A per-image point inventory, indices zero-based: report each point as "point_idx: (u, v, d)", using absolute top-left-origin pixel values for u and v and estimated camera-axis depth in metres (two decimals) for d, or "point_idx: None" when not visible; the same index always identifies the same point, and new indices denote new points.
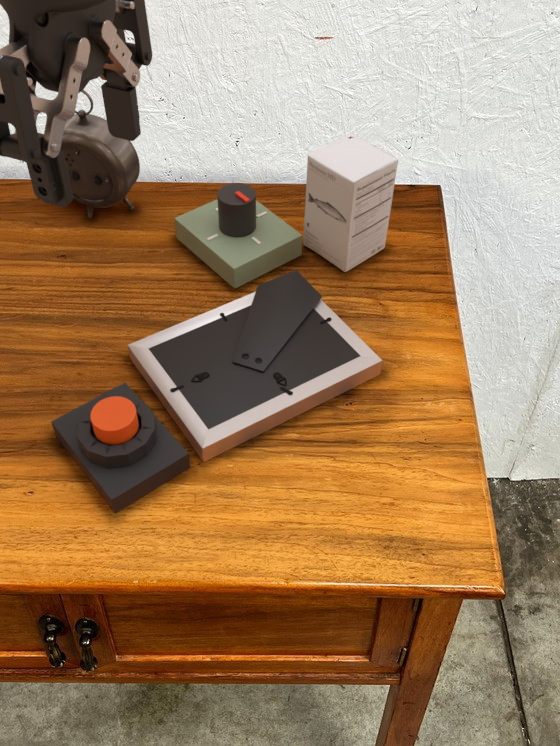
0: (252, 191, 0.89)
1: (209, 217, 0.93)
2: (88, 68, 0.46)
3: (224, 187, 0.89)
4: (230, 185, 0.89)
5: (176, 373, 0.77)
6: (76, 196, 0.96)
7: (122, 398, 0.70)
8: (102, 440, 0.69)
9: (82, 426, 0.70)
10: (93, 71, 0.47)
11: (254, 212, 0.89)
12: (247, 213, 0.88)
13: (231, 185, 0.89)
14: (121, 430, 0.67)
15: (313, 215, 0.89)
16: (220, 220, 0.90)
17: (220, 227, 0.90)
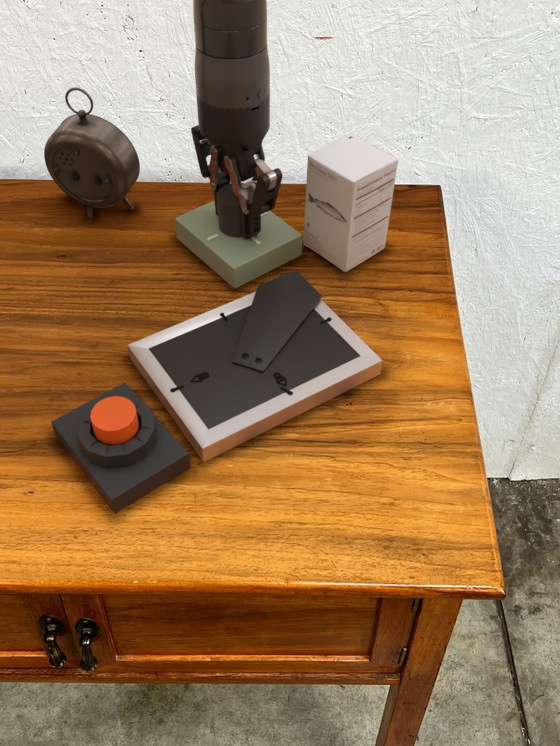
0: (252, 191, 0.89)
1: (209, 217, 0.93)
2: None
3: (224, 187, 0.89)
4: (230, 185, 0.89)
5: (176, 373, 0.77)
6: (76, 196, 0.96)
7: (122, 398, 0.70)
8: (102, 440, 0.69)
9: (82, 426, 0.70)
10: None
11: None
12: None
13: (231, 185, 0.89)
14: (121, 430, 0.67)
15: (313, 215, 0.89)
16: (220, 220, 0.90)
17: (220, 227, 0.90)
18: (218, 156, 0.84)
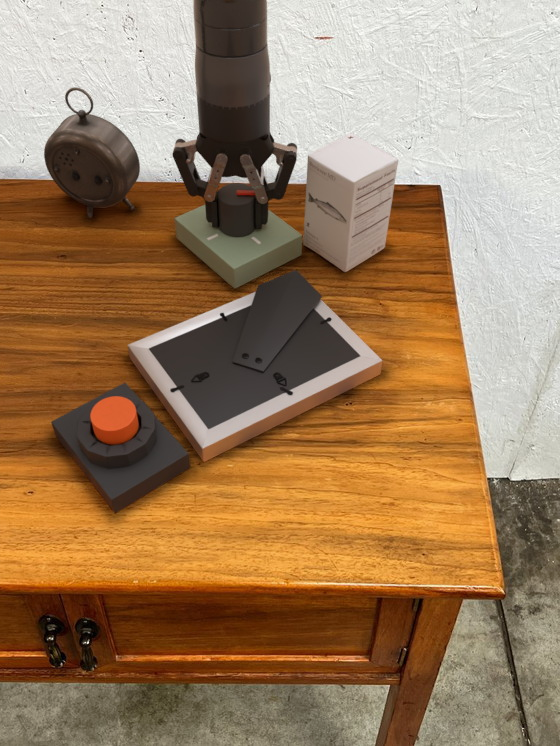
0: (244, 185, 0.89)
1: None
2: None
3: (220, 195, 0.88)
4: (221, 191, 0.88)
5: (176, 373, 0.77)
6: (76, 196, 0.96)
7: (122, 398, 0.70)
8: (102, 440, 0.69)
9: (82, 426, 0.70)
10: None
11: None
12: None
13: (222, 190, 0.89)
14: (121, 430, 0.67)
15: (313, 215, 0.89)
16: (232, 226, 0.89)
17: (232, 233, 0.90)
18: (226, 161, 0.83)
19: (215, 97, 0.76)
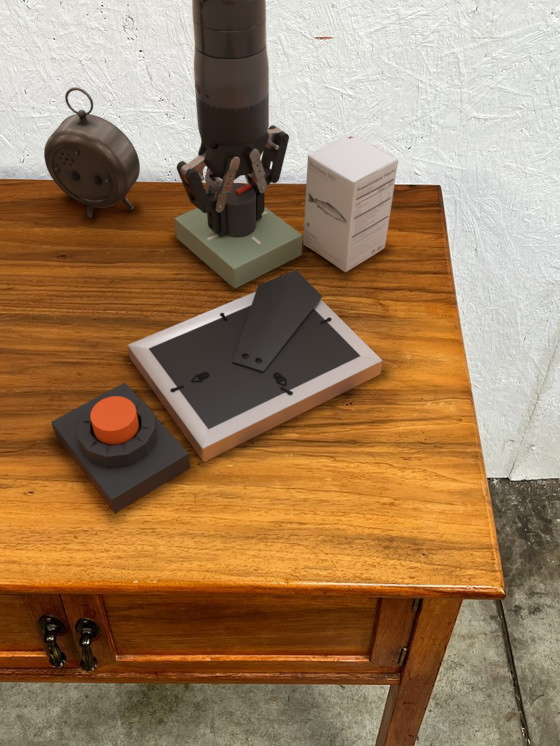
0: None
1: None
2: None
3: (226, 201, 0.87)
4: None
5: (176, 373, 0.77)
6: (76, 196, 0.96)
7: (122, 398, 0.70)
8: (102, 440, 0.69)
9: (82, 426, 0.70)
10: None
11: None
12: None
13: None
14: (121, 430, 0.67)
15: (313, 215, 0.89)
16: (247, 224, 0.89)
17: (246, 232, 0.90)
18: None
19: (240, 100, 0.76)
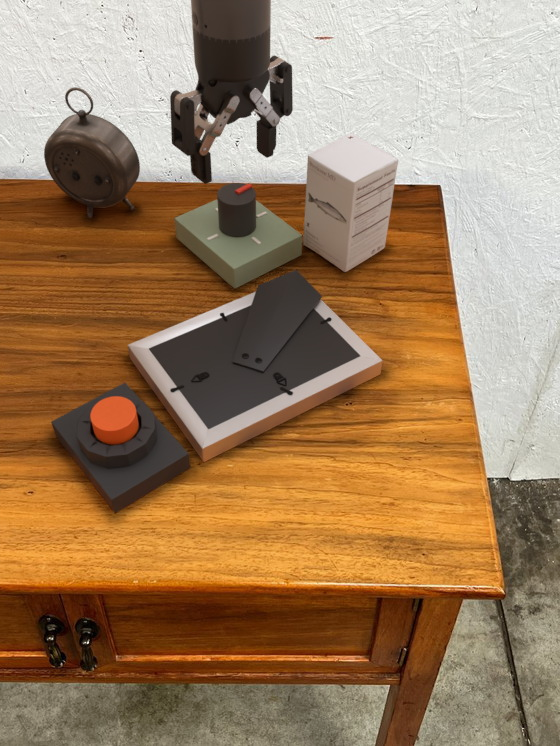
0: (231, 184, 0.89)
1: (209, 217, 0.93)
2: None
3: (226, 201, 0.87)
4: (222, 198, 0.88)
5: (176, 373, 0.77)
6: (76, 196, 0.96)
7: (122, 398, 0.70)
8: (102, 440, 0.69)
9: (82, 426, 0.70)
10: None
11: None
12: None
13: (222, 197, 0.88)
14: (121, 430, 0.67)
15: (313, 215, 0.89)
16: (247, 224, 0.89)
17: (246, 232, 0.90)
18: None
19: (241, 30, 0.71)
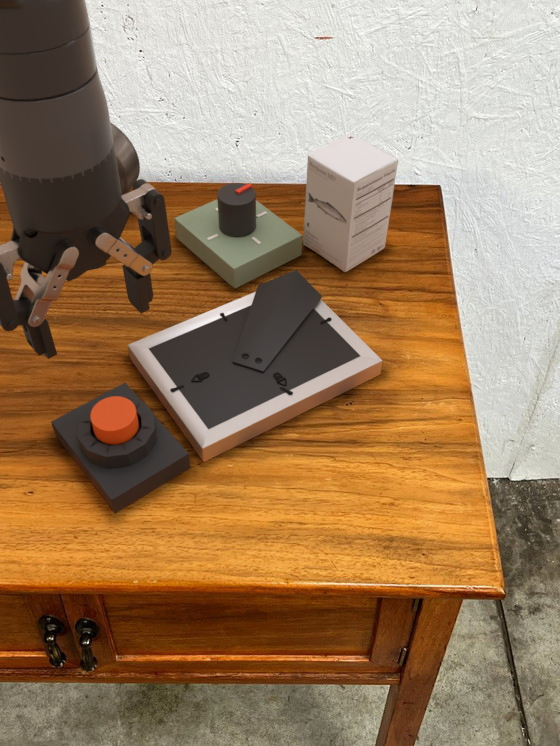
0: (231, 184, 0.89)
1: (209, 217, 0.93)
2: None
3: (226, 201, 0.87)
4: (222, 198, 0.88)
5: (176, 373, 0.77)
6: None
7: (122, 398, 0.70)
8: (102, 440, 0.69)
9: (82, 426, 0.70)
10: None
11: None
12: None
13: (222, 197, 0.88)
14: (121, 430, 0.67)
15: (313, 215, 0.89)
16: (247, 224, 0.89)
17: (246, 232, 0.90)
18: None
19: (56, 165, 0.46)
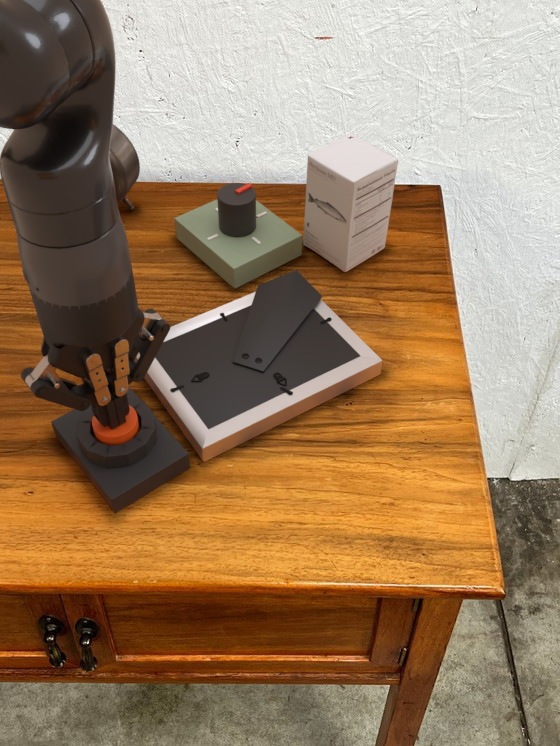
0: (231, 184, 0.89)
1: (209, 217, 0.93)
2: None
3: (226, 201, 0.87)
4: (222, 198, 0.88)
5: (176, 373, 0.77)
6: None
7: None
8: None
9: (82, 426, 0.70)
10: None
11: None
12: None
13: (222, 197, 0.88)
14: (122, 436, 0.68)
15: (313, 215, 0.89)
16: (247, 224, 0.89)
17: (246, 232, 0.90)
18: None
19: (84, 296, 0.54)
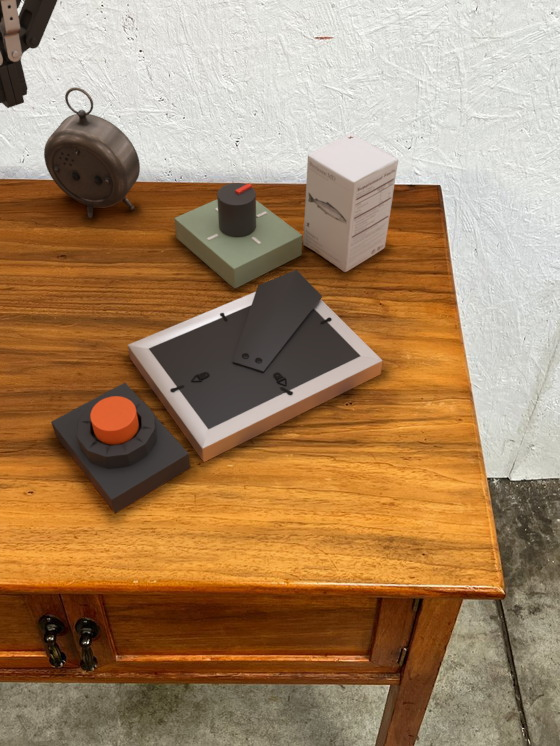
0: (231, 184, 0.89)
1: (209, 217, 0.93)
2: None
3: (226, 201, 0.87)
4: (222, 198, 0.88)
5: (176, 373, 0.77)
6: (76, 196, 0.96)
7: (122, 398, 0.70)
8: (102, 440, 0.69)
9: (82, 426, 0.70)
10: None
11: None
12: None
13: (222, 197, 0.88)
14: (121, 430, 0.67)
15: (313, 215, 0.89)
16: (247, 224, 0.89)
17: (246, 232, 0.90)
18: None
19: None
